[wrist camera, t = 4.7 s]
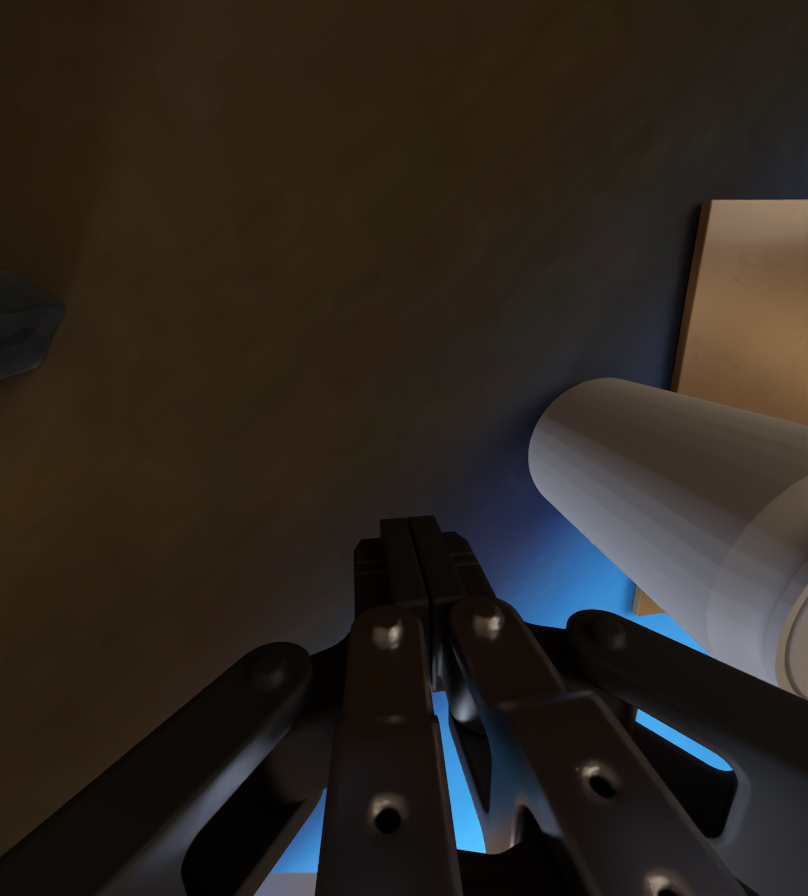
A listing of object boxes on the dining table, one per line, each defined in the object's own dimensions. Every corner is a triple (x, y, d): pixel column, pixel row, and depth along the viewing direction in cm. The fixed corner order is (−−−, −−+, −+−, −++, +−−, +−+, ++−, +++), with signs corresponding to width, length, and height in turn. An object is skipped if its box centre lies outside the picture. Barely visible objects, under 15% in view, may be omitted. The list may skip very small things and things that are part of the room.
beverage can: (640, 354, 19) (1097, 420, 7) (657, 478, 21) (1031, 679, 9) (506, 403, 18) (757, 548, 7) (537, 523, 21) (768, 780, 9)
